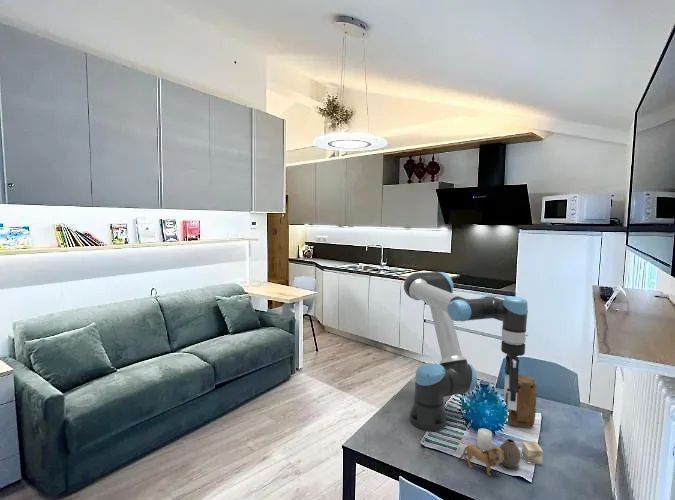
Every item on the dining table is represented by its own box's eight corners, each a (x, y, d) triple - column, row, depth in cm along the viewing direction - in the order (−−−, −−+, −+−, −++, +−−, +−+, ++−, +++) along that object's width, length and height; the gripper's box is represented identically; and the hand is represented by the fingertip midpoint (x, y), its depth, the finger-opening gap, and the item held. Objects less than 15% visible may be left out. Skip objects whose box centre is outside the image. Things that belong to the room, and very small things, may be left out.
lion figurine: (503, 470, 129) (505, 445, 128) (501, 480, 125) (503, 454, 124) (458, 456, 136) (460, 433, 135) (456, 465, 131) (457, 440, 130)
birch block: (527, 463, 133) (528, 450, 133) (521, 454, 138) (522, 441, 138) (542, 464, 133) (543, 451, 132) (535, 455, 138) (537, 442, 137)
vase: (520, 472, 128) (522, 448, 127) (498, 467, 130) (500, 444, 130) (518, 460, 135) (520, 437, 134) (497, 455, 137) (499, 433, 136)
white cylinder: (476, 449, 140) (477, 434, 140) (476, 441, 145) (477, 427, 144) (491, 452, 139) (492, 437, 138) (490, 444, 143) (491, 430, 143)
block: (528, 419, 162) (532, 375, 160) (535, 429, 154) (539, 382, 152) (502, 417, 163) (505, 373, 161) (508, 427, 156) (511, 380, 153)
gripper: (530, 355, 119) (526, 419, 120) (520, 332, 142) (517, 387, 144) (504, 351, 121) (500, 415, 123) (499, 330, 144) (496, 384, 146)
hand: (509, 400), depth 133 cm, fingers open, 13 cm apart
